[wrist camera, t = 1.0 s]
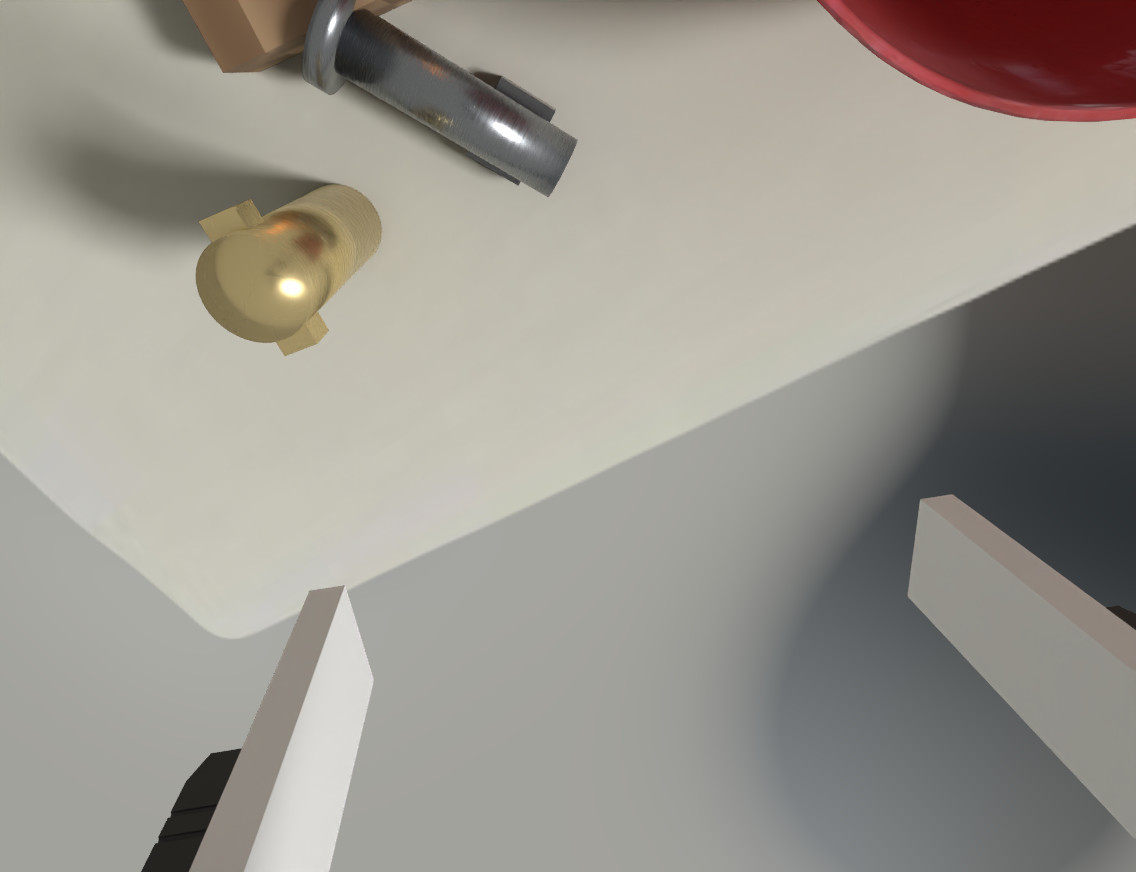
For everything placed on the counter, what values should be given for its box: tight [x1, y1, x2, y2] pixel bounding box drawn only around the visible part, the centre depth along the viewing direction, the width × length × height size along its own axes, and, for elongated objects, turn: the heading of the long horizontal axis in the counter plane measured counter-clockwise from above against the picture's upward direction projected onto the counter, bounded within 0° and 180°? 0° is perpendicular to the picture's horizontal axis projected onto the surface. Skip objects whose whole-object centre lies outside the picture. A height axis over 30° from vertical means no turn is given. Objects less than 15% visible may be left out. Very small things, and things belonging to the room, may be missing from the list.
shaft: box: [302, 0, 577, 197], centre depth 31 cm, size 12×5×6 cm, turn 60°
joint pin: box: [196, 184, 382, 356], centre depth 31 cm, size 4×6×12 cm
